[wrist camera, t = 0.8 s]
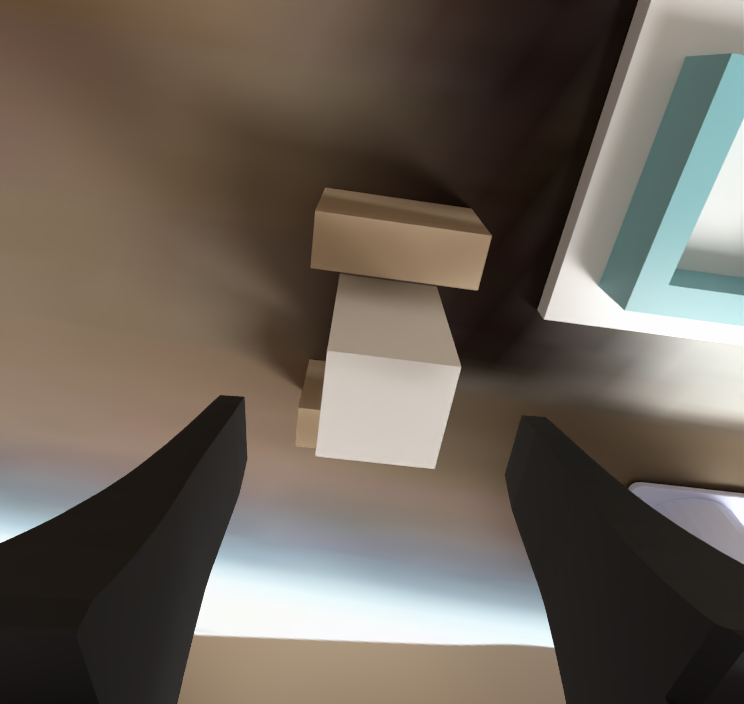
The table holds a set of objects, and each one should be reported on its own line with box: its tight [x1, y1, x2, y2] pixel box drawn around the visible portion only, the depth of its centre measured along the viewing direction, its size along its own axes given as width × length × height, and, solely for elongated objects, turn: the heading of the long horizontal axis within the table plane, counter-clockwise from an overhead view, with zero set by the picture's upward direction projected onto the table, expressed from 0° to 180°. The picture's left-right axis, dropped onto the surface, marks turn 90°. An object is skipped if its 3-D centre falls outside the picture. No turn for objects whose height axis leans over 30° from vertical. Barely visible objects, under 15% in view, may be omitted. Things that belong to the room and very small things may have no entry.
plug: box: [316, 272, 461, 469], centre depth 19 cm, size 4×4×8 cm
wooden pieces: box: [295, 188, 492, 448], centre depth 21 cm, size 10×6×4 cm, turn 172°
